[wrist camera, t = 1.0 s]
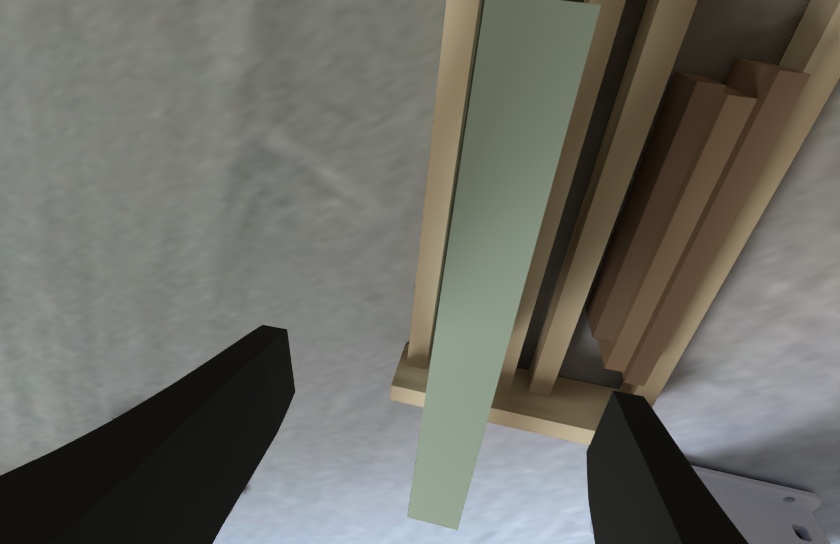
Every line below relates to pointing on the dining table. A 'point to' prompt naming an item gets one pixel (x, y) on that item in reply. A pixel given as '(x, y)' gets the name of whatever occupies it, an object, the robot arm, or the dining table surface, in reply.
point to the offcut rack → (591, 205)
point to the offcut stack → (684, 205)
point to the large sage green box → (495, 229)
